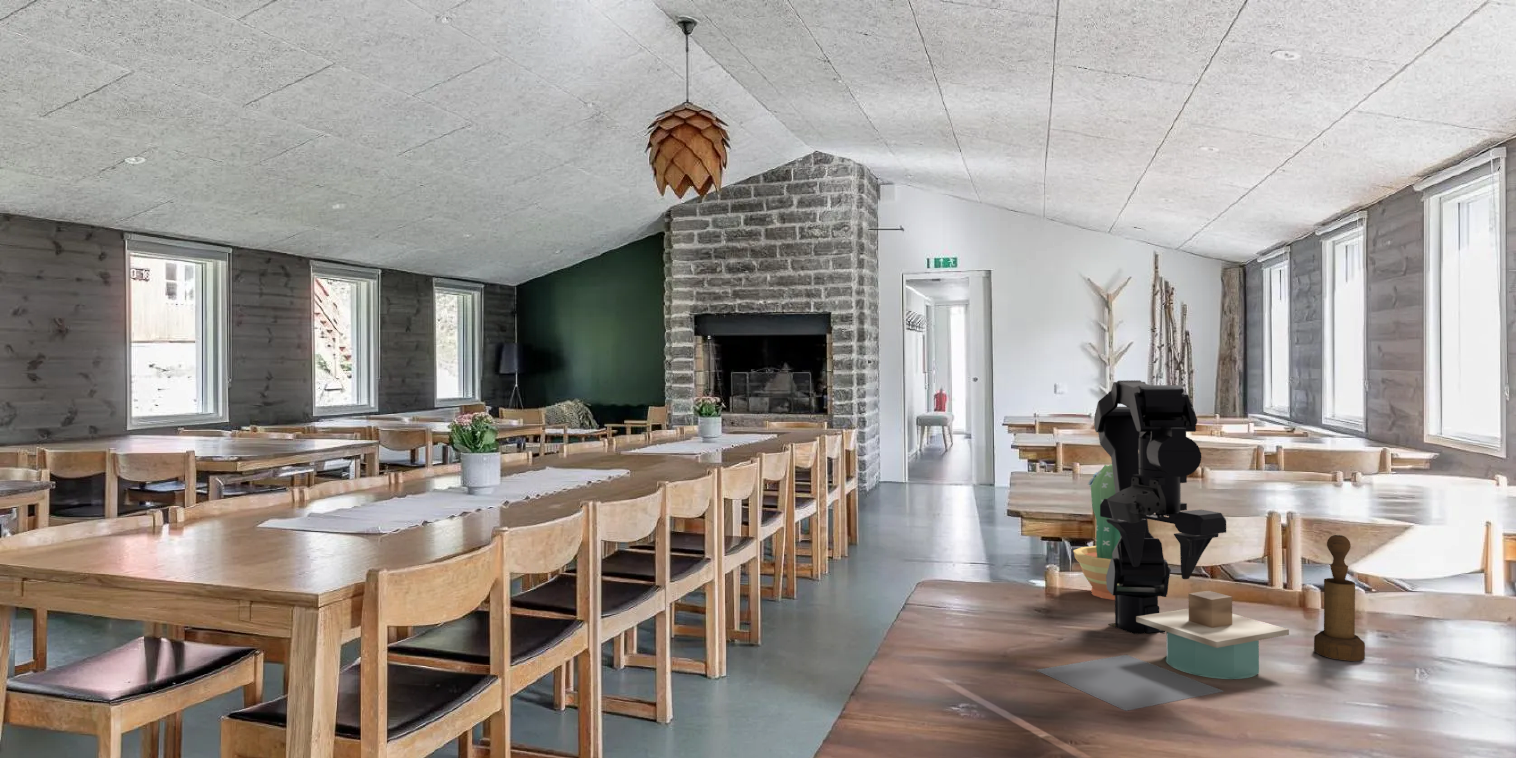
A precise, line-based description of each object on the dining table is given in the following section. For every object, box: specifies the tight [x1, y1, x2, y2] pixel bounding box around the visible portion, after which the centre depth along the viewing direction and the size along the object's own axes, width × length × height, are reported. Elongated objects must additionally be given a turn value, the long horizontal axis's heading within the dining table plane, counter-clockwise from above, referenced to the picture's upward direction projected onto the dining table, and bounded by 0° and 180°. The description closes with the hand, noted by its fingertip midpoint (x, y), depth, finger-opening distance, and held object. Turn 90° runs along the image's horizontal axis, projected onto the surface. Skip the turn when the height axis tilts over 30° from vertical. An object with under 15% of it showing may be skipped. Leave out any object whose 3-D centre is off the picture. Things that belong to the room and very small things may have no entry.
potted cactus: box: [1073, 463, 1120, 601], centre depth 174 cm, size 15×15×25 cm
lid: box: [1136, 590, 1290, 648], centre depth 130 cm, size 14×14×5 cm
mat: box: [1035, 654, 1225, 712], centre depth 124 cm, size 17×17×1 cm
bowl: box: [1165, 631, 1260, 680], centre depth 130 cm, size 12×12×6 cm
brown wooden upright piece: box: [1313, 534, 1366, 662], centre depth 136 cm, size 7×6×18 cm
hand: (1159, 572), depth 135 cm, fingers open, 9 cm apart
